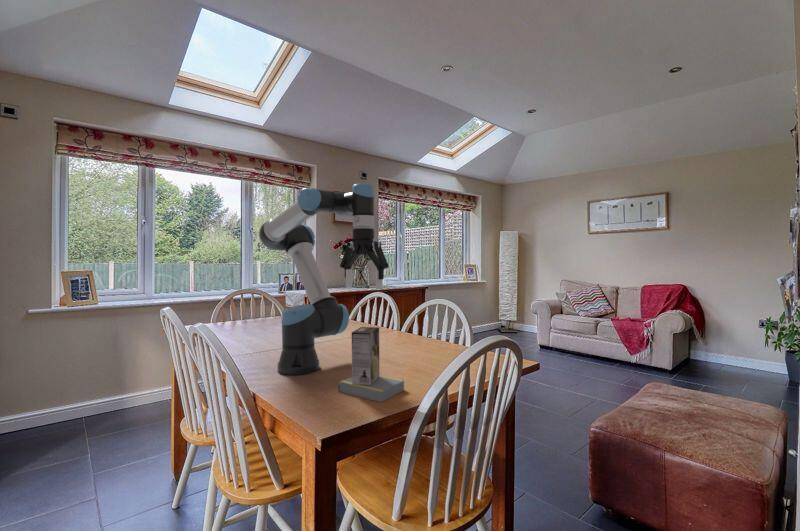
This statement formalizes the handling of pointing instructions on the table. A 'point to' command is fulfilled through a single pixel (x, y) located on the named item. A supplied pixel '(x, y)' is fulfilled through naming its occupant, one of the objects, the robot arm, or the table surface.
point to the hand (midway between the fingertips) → (363, 288)
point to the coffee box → (365, 355)
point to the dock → (373, 388)
